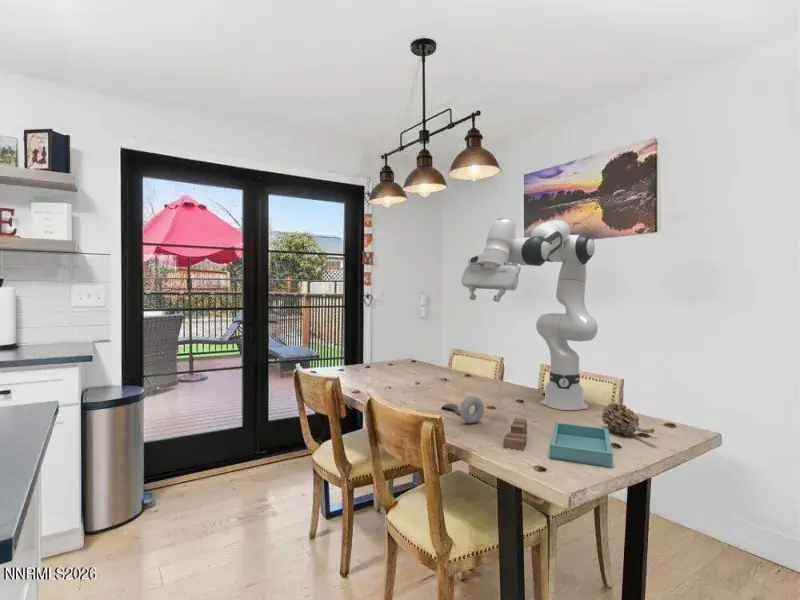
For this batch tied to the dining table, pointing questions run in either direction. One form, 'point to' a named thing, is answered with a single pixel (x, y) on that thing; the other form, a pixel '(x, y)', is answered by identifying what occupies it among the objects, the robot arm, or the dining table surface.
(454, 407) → the soupspoon
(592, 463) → the serving bin
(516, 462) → the dining table surface
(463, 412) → the donut
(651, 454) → the dining table surface
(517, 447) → the stepped brown block
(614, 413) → the pine cone
